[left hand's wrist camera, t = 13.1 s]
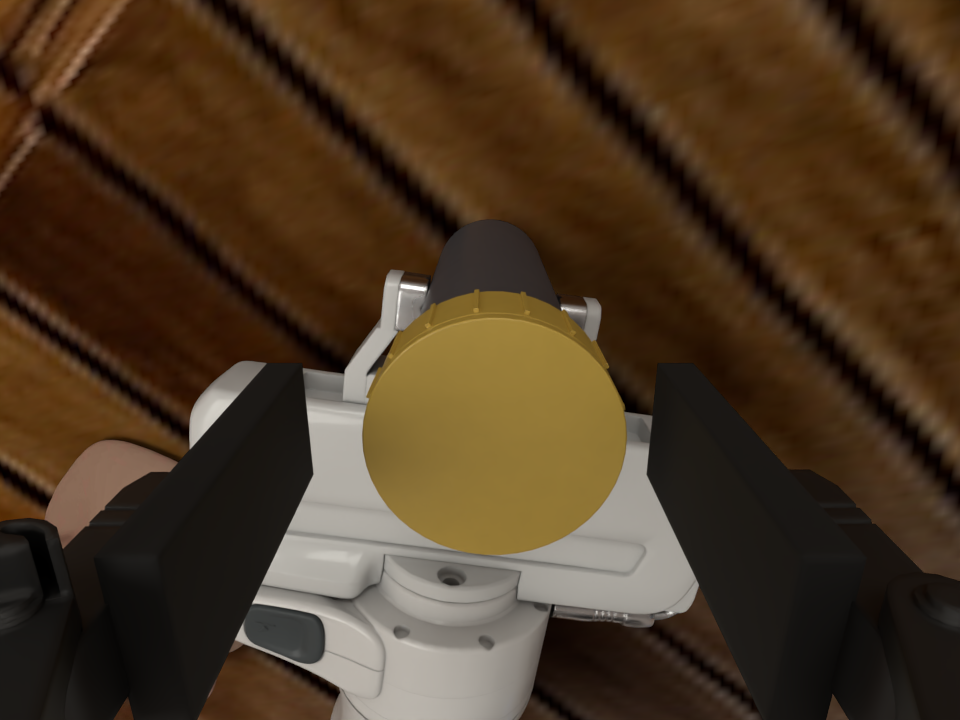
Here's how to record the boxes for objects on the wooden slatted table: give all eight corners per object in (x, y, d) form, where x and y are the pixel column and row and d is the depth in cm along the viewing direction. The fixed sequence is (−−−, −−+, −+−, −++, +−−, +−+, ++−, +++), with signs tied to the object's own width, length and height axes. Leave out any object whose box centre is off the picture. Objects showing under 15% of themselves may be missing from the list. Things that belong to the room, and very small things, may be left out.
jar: (553, 302, 30) (627, 496, 14) (457, 332, 30) (428, 551, 15) (523, 205, 28) (570, 301, 13) (423, 238, 29) (350, 370, 13)
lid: (636, 469, 16) (658, 520, 14) (423, 528, 16) (414, 585, 14) (575, 255, 14) (590, 277, 12) (339, 332, 15) (315, 365, 13)
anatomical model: (-9, 462, 28) (251, 519, 29) (49, 423, 32) (278, 474, 33) (-7, 685, 32) (219, 729, 33) (44, 628, 36) (246, 668, 37)
